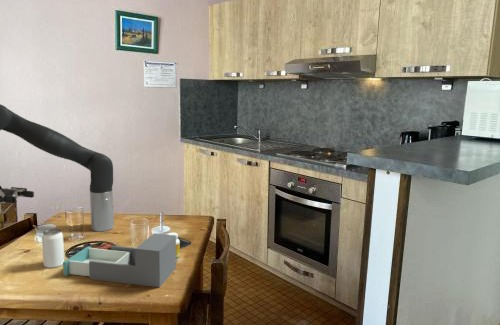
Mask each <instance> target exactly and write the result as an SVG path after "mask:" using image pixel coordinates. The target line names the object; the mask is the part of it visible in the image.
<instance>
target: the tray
mask: <svg viewBox="0 0 500 325" xmlns="http://www.w3.org/2000/svg"><path fill="white" fill-rule="evenodd" d="M89 261H98V262H107V263H117V264H126V265H131V264H130V252H126V251H116V250H111V249H103V248H97V247H95V248H94V247H92V246H91V245H90V246H86V247H84V248H83V249H82V250H80V251H78V252H76V253H75V254H74V255H72V256H71V257H69V258H68V259H65V260H64V262H63V265H62V266H63V276H69V275H76V276H84V277H90V273H89Z"/></svg>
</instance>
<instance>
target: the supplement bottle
mask: <svg viewBox="0 0 500 325" xmlns="http://www.w3.org/2000/svg"><path fill="white" fill-rule="evenodd" d="M166 234H167V235H176V262H177V261H179V260H180V258H181V257H180V255H181V254H180V251H181V249H180V241H179V239H177V238H178V237H179V234H178V233H177V232H169V233H166Z"/></svg>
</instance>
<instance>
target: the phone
mask: <svg viewBox="0 0 500 325" xmlns="http://www.w3.org/2000/svg"><path fill="white" fill-rule="evenodd" d="M177 239H179V241H180V250H181V249H183V248H186V247H188V246H191V245H192V241H190V240H186V239H184V238H181V237H179V236H178V238H177Z"/></svg>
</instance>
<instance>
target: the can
mask: <svg viewBox="0 0 500 325" xmlns="http://www.w3.org/2000/svg"><path fill="white" fill-rule="evenodd" d="M41 242H42V244H41V245H42V257H43V258H42V259H43V266H44V268H47V269H54V268H59V267H61V266H63V262H64V261H65V251H64V250H65V249H64V234H63V232H62V230H61V229H59V228H51V229H47V230H44V231H43V232H42V236H41Z"/></svg>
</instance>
